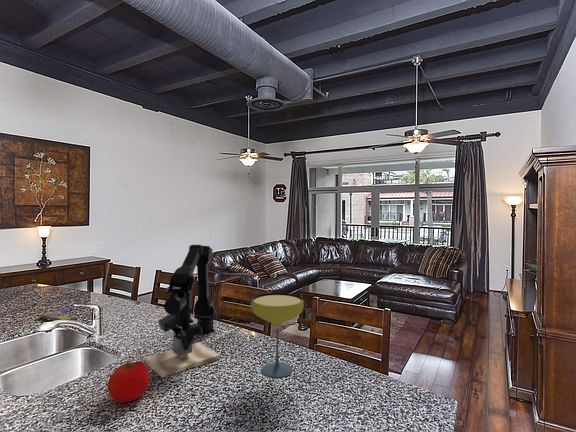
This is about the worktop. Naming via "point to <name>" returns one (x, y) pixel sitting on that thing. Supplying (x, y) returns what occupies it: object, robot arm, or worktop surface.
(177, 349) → the socket
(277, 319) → the cocktail glass
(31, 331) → the worktop surface
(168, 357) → the board
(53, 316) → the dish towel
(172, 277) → the robot arm
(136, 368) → the tomato
